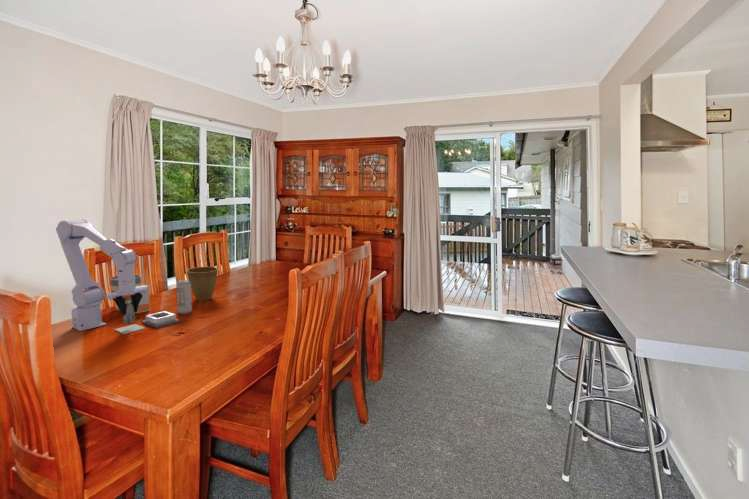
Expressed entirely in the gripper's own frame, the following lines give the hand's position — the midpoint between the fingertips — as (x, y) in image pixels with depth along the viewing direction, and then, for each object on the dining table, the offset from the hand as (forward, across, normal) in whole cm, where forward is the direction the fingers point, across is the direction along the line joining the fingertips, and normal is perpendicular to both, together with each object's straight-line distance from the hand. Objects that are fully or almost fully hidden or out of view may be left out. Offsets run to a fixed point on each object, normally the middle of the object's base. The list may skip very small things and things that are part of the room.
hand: (129, 313), depth 156 cm
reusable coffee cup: (+7, +14, +32) cm, 36 cm away
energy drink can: (+7, +26, +4) cm, 27 cm away
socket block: (+7, +12, -1) cm, 14 cm away
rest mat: (+7, 0, 0) cm, 7 cm away
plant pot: (+7, +45, +18) cm, 49 cm away
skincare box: (+7, +15, +21) cm, 27 cm away
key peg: (+4, 0, 0) cm, 4 cm away
